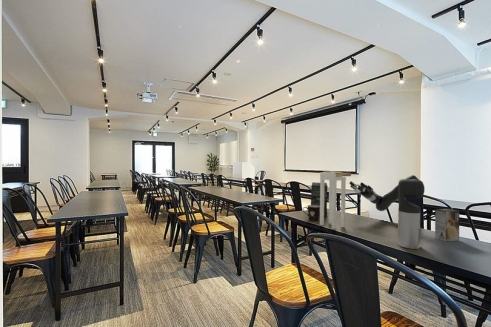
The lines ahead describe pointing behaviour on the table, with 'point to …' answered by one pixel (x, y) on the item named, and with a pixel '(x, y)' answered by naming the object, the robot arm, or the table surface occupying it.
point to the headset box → (318, 196)
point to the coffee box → (447, 224)
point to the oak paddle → (340, 174)
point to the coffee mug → (313, 212)
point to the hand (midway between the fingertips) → (355, 182)
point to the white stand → (332, 198)
